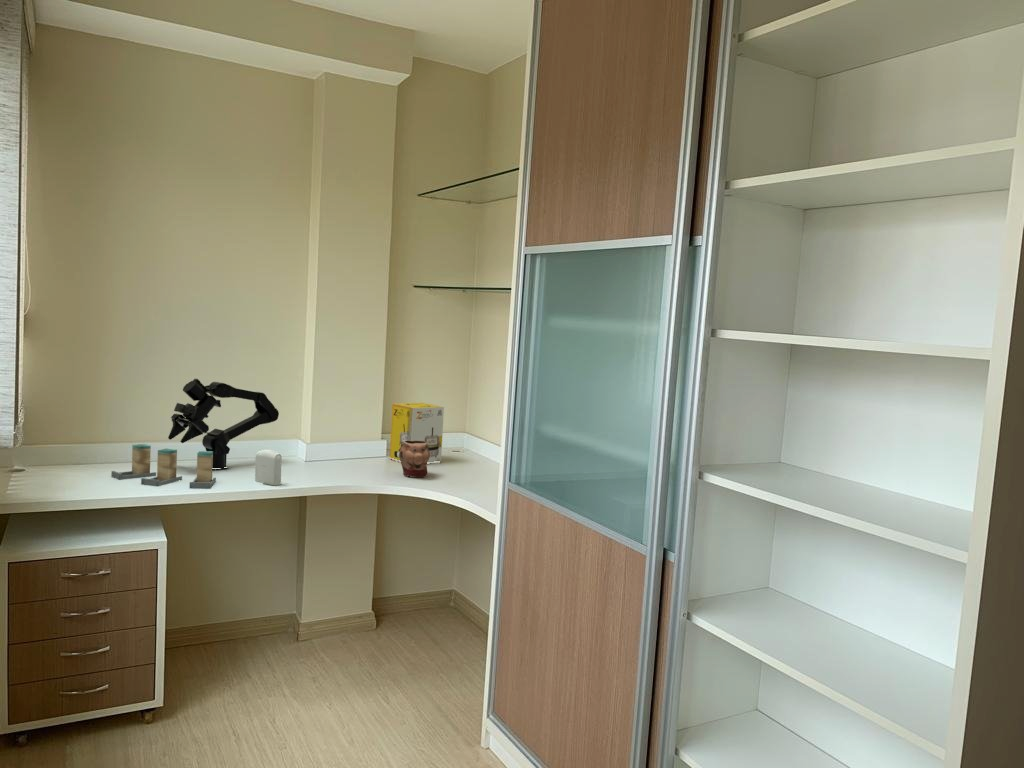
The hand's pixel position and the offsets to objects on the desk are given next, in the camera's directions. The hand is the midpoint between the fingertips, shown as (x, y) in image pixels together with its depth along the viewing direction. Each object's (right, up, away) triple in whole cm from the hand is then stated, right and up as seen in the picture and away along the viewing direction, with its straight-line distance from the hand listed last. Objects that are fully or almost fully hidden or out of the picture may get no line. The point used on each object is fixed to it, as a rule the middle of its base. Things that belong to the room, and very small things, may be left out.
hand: (175, 440), depth 306 cm
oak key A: (-9, -12, -9) cm, 17 cm away
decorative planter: (+86, -16, +25) cm, 91 cm away
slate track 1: (-11, -13, -10) cm, 19 cm away
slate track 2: (+2, -14, -17) cm, 22 cm away
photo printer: (+37, -15, -7) cm, 40 cm away
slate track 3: (+17, -15, -17) cm, 28 cm away
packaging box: (+83, -13, +56) cm, 101 cm away
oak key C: (+17, -14, -15) cm, 26 cm away
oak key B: (+3, -13, -15) cm, 20 cm away
